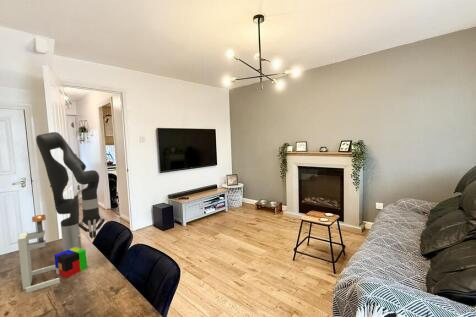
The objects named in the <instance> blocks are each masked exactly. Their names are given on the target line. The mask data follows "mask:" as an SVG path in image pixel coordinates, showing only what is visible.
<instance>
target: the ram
mask: <svg viewBox="0 0 476 317" xmlns="http://www.w3.org/2000/svg"><path fill="white" fill-rule="evenodd" d="M46 218H47V217H46V214H38V215H34V216H32V217H31V222H32V223H36V228H37V230H36V232H38V233H42V232H43V230H44V229H43V221H46V220H47V219H46ZM44 237H45V236H44ZM44 237H40V238H37V239H38V240H37V241H38V242H39V243H43V242H44V240H45V239H44ZM44 248H45V247H41V248H38V249H39V250H41V249H44Z"/></svg>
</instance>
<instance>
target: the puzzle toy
mask: <svg viewBox="0 0 476 317" xmlns="http://www.w3.org/2000/svg"><path fill="white" fill-rule="evenodd" d="M53 257H54V265H55V268H56V269H55V274H56V275H58V276H61V277H63V278H65V279H68V278H70V277H73V276H74V275H76V274H78V273H80V272H82V271H85V270H86V269H88V264H87V263H88V261H87V260H88V259H87V252H86V249H84V248H83V249H82V248H81V249H80V248H77V247H74V248H72V249H69V250H66V251H64V252H63V251H61V252H59V253H57V254H54V256H53Z"/></svg>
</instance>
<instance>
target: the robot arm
mask: <svg viewBox="0 0 476 317" xmlns="http://www.w3.org/2000/svg"><path fill="white" fill-rule="evenodd" d="M35 140H36V141H35V142H36V144H37V145H36V146H37V148H38V150H39V153H40V155H41V158H42V161H43V163H44V167H45V170H46V175H47V178H48V182H49V185H50V187H51V188H50V189H51V192H52V195H53V202H54V206H55V212H56V213H57V214H58V215H67V214H69V216H68V217H66V218H64V219H62V220H61V221H60V231H61V239H62V240H61V241H62V252H64V251H66V250H69V249H72V248H74V247H77V248H80V249H82V241H81V239H82V238H81V230H83V231H84V232H86V233H88V234H89V238H91V239H95V238H96V237H97V231H98V230H100V228H101V227H102V225H103V224H104V222H105V221H106V220H105V218H102V217H101V216H100V209H99V206H100V205H99V199H98V188H99V184H100V174H99V172H98V171H97V170H94V169H93V170H92V169H91V170H90V169H89V170H87V169H86V168H87V165H86V164H85V163H84V162H83V161H82V159H81V158H79V157H78V156H77V155H76V153H74V151H73V149H72V148H71V146H70V145H69V144H68V142H67V141H66V139H64V137H63V136H62V135H61V134H60V133H59V132H56V131H53V132H47V133H41V134H38V135H37V136H36V137H35ZM55 149H61V150H62V154H63V155H62V158H63V159H62V160H63V163H64V165H65V166H66V167H67V168H68V170H70V171H71V172H72V174H73V177H74V178H75V180H76V182H77V183H78V184H80V185H81V186H82V185H87V186H86V187H85V188H83V189H81V208H82V220H81V221H80V203H79V200H78V199H77V198H74V197H73V198H64V192H65V189H66V187H67V185H68V183H69V180H70V179H69V174H68V171H67V168H66V167H65V166H64V165H63V164H61V163H60V162H59V161H58V160H56V159H55V158H54V157H53V155H52V153H51V151H52V150H55ZM86 226H87V227H86ZM80 229H81V230H80Z"/></svg>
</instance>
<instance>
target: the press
mask: <svg viewBox="0 0 476 317" xmlns="http://www.w3.org/2000/svg"><path fill="white" fill-rule="evenodd" d="M45 234H46V231H45V229H43V232H42V233H38V232H37V231H34V232H33V231H32V232H29V231H26V232H25V231H24V232H21V233H20V235H19V236H18V239H17V245H18V254H19V255H18V256H19V264H20V265H19V267H20V274H21V276H20V277H21V284H22V285H21V286H22V291H23V290H24V291H25V294H29V293H31V292H34V291H37V290H41V289H44V288H47V287H50V286H53V285H57V284H60V283H61V280H60V277H57V278H53V279H50V280H47V281H43V282H39V283H37V284H34V285H32V282H33V276H36V275H40V274H43V273H47V272H51V271H54V270H56V268H55V264H52V265H49V266H45V267H43V268H38V269H34V270H32V259H31V250H32V251H33V250H36V249H39V248H41V247H44V248H45V247H46V244H47V243H46V239H44V242H43V243H39V242H38V240H37V241H33V242H30V240H35V239H38V238H40V237H45Z"/></svg>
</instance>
